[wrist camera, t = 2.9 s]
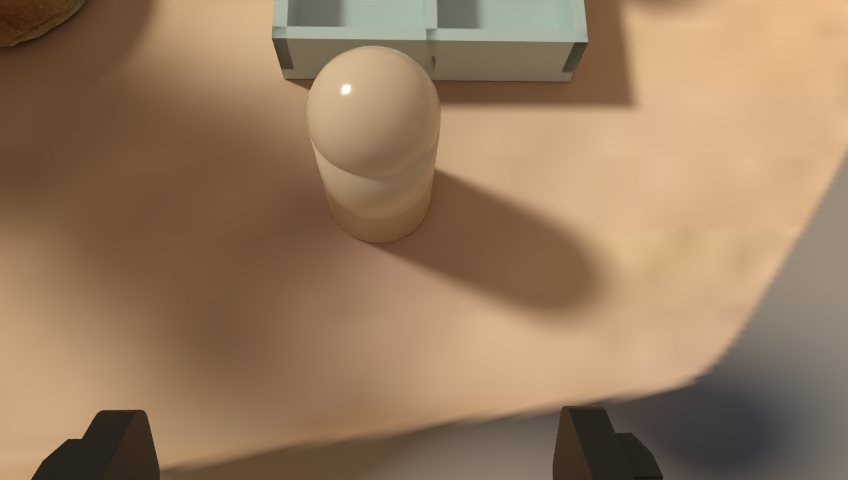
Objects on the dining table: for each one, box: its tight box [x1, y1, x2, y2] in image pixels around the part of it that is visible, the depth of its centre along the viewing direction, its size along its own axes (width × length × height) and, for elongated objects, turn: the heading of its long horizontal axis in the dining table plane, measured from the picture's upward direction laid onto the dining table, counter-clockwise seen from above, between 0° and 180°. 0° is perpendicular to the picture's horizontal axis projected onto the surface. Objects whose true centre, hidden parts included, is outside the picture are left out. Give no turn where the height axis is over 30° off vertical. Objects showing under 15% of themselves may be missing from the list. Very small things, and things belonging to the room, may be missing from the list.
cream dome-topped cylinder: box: [306, 46, 441, 243], centre depth 24 cm, size 5×5×10 cm
